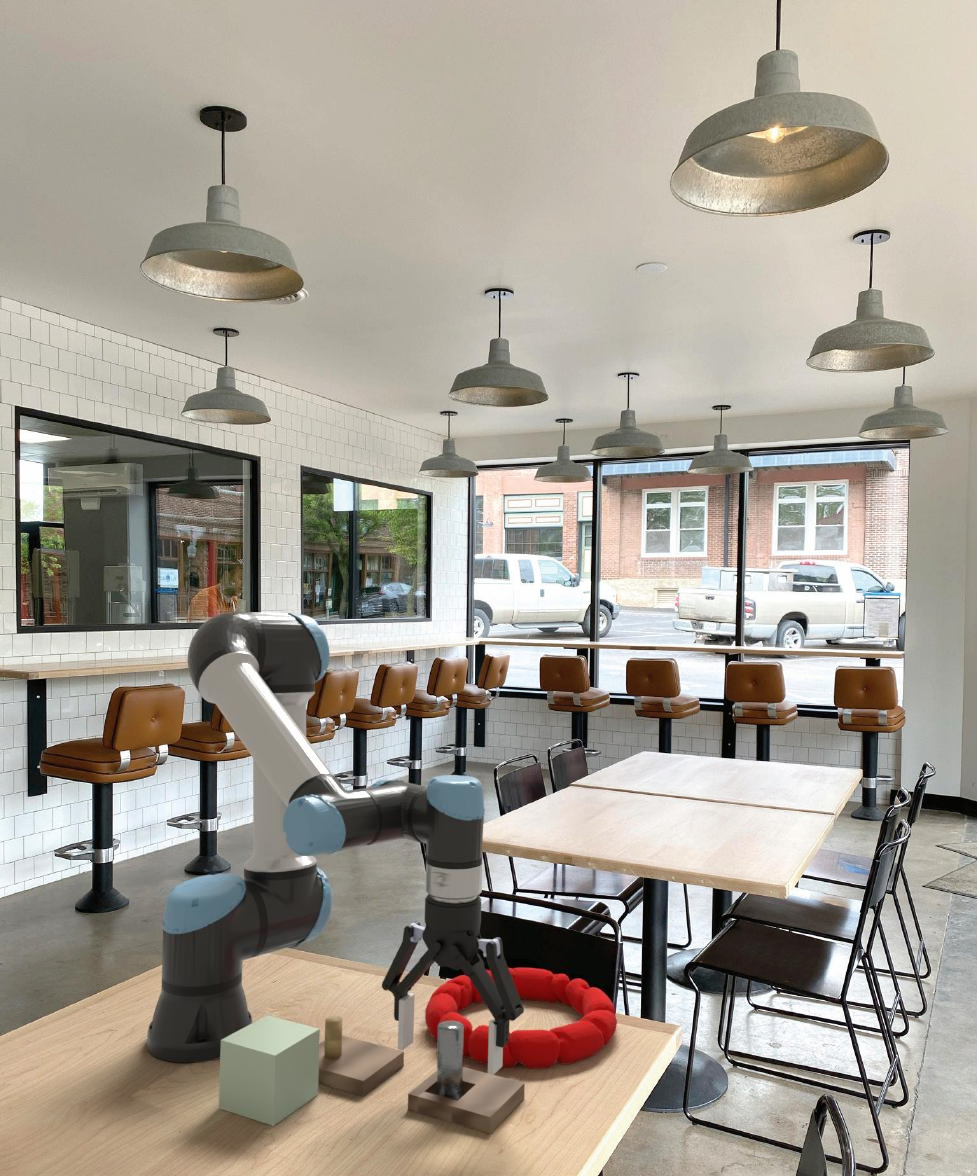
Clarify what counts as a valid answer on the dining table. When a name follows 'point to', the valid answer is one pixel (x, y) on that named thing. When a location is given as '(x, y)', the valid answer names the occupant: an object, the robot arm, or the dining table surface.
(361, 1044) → the board
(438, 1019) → the decorative ring
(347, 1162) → the dining table surface
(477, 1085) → the square hole block
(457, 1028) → the peg
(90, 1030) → the dining table surface
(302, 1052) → the pale green cube
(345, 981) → the dining table surface
